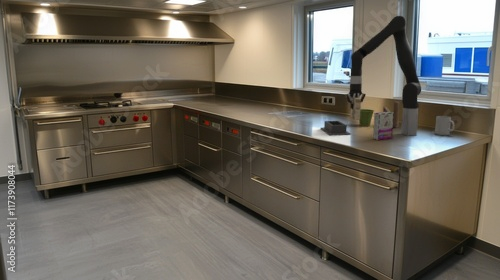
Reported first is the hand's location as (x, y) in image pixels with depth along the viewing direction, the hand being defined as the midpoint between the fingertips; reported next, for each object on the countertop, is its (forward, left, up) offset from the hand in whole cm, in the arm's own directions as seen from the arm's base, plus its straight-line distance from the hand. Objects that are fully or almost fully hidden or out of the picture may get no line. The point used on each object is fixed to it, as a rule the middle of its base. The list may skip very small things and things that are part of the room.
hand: (354, 108), depth 264 cm
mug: (-17, -54, -16) cm, 59 cm away
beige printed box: (-1, 0, -6) cm, 6 cm away
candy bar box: (-25, -9, -16) cm, 31 cm away
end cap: (0, +13, -15) cm, 20 cm away
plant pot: (+19, -15, -16) cm, 29 cm away
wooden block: (+12, -31, -16) cm, 37 cm away
